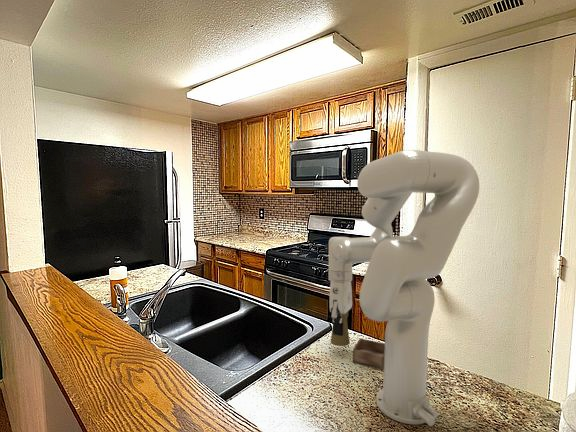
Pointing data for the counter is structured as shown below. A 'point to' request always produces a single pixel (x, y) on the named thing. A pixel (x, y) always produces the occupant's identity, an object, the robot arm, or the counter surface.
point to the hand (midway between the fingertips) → (340, 331)
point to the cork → (344, 338)
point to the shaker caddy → (369, 354)
